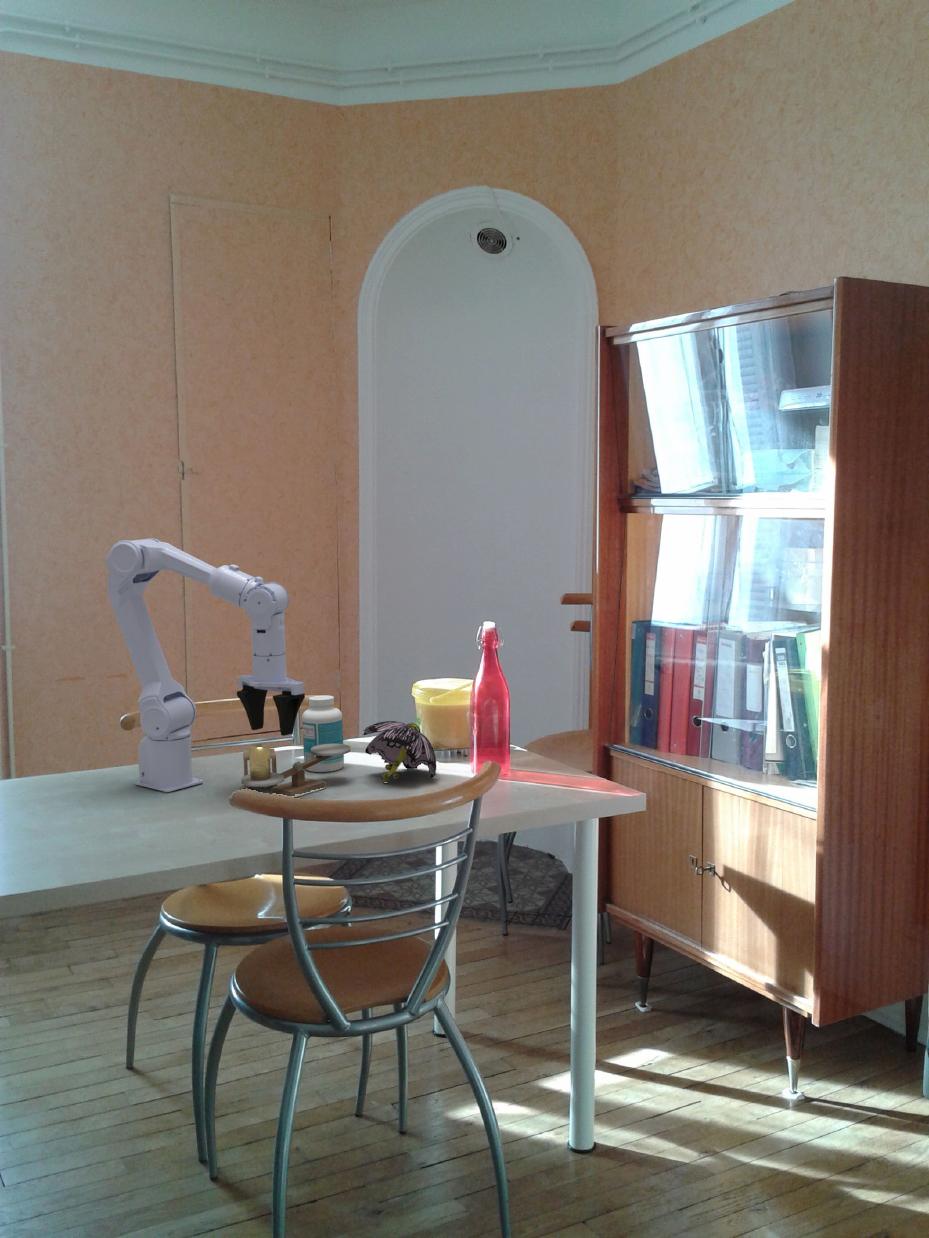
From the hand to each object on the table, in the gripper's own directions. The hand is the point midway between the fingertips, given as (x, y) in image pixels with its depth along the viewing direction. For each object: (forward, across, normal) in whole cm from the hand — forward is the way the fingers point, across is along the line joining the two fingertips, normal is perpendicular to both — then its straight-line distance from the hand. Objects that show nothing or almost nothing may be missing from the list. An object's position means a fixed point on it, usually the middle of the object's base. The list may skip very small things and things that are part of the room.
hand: (272, 731), depth 193 cm
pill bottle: (+11, -4, +16) cm, 20 cm away
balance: (+10, +4, +2) cm, 11 cm away
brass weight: (+6, +4, -6) cm, 10 cm away
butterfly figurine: (+11, +13, +19) cm, 25 cm away
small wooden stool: (+10, -3, 0) cm, 11 cm away
